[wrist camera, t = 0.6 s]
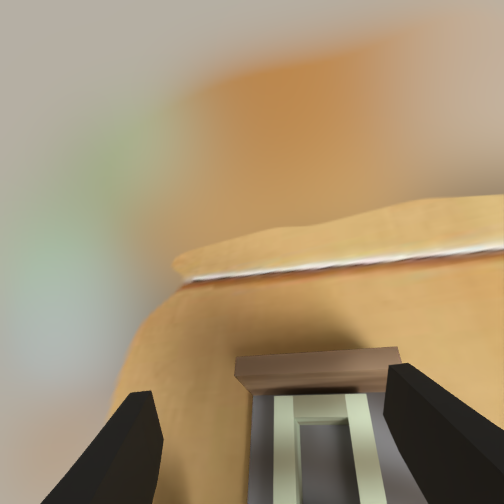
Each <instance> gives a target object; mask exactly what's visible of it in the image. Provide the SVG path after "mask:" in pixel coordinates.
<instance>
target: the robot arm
mask: <svg viewBox="0 0 504 504" xmlns="http://www.w3.org/2000/svg"><path fill="white" fill-rule="evenodd" d="M383 416H384V419H385V421H386V423H387V426H388V428H389V430H390V433H391V435H392V437H393V440H394V442H395V444H396V446H397V448H398V451H399V453H400V454H401V456H402V458H403V460H404V462H405V463H406V465H407V467H408V469H409V471H410V472H411V474H412V476H413V478H414V480H415V481H416V483H417V485H418V487H419V488H420V490H421V492H422V494H423V495H424V497H425V499H426V501H427V502H428V504H504V430H502V429H501V428H499V427H498V426H496V425H495V424H494V423H492V422H491V421H489V420H488V419H486V418H485V417H483V416H482V415H481V414H479V413H478V412H476V411H475V410H473V409H472V408H471V407H469V406H468V405H466V404H465V403H464V402H462V401H461V400H459V399H458V398H457V397H455V396H454V395H452V394H451V393H450V392H448V391H447V390H445V389H444V388H443V387H441V386H440V385H439V384H437V383H436V382H434V381H433V380H432V379H430V378H429V377H427V376H426V375H425V374H423V373H422V372H421V371H419V370H418V369H416V368H415V367H413V366H412V365H410V364H409V363H403V364H394V365H389V367H388V375H387V383H386V392H385V400H384V409H383ZM163 441H164V439H163V435H162V431H161V427H160V423H159V419H158V415H157V411H156V407H155V403H154V399H153V395H152V391H142V392H133V393H130V394H129V395H128V396H127V397H126V399H125V400H124V401H123V403H122V404H121V405H120V406H119V408H118V409H117V410H116V412H115V413H114V414H113V416H112V417H111V418H110V419H109V421H108V422H107V423H106V425H105V426H104V427H103V428H102V430H101V431H100V432H99V434H98V435H97V436H96V437H95V439H94V440H93V441H92V442H91V444H90V445H89V446H88V448H87V449H86V450H85V451H84V453H83V454H82V455H81V456H80V457H79V459H78V460H77V461H76V463H75V464H74V465H73V466H72V467H71V468H70V470H69V471H68V472H67V473H66V475H65V476H64V477H63V478H62V479H61V480H60V482H59V483H58V484H57V485H56V486H55V488H54V489H53V490H52V491H51V492H50V494H48V496H47V497H46V498H45V499H44V500H43V501H42V503H41V504H152V501H153V497H154V493H155V489H156V485H157V480H158V474H159V468H160V462H161V455H162V448H163Z"/></svg>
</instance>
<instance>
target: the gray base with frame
mask: <svg viewBox="0 0 504 504" xmlns="http://www.w3.org/2000/svg"><path fill="white" fill-rule="evenodd" d="M394 364H402V361H401V358H400V354H399V351H398V347H382V348H366V349H351V350H335V351H320V352H304V353H289V354H273V355H258V356H242V357H236V364H235V374H234V376H235V377H236V378H237V379H238V380H239V381H240V382H241V383H242V384H243V386H244V387H245V388H246V389H247V390H248V391H249V392H250V393H251V394H252V395H253V408H252V427H251V446H250V465H249V483H248V502H247V504H428V502H427V501H426V499H425V497H424V495H423V494H422V492H421V490H420V488H419V487H418V485H417V483H416V481H415V480H414V478H413V476H412V474H411V472H410V471H409V469H408V467H407V465H406V463H405V462H404V460H403V458H402V456H401V454H400V453H399V451H398V448H397V446H396V444H395V442H394V440H393V437H392V435H391V433H390V430H389V428H388V426H387V423H386V421H385V419H384V416H383V409H384V400H385V392H386V383H387V375H388V367H389V365H394Z"/></svg>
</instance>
